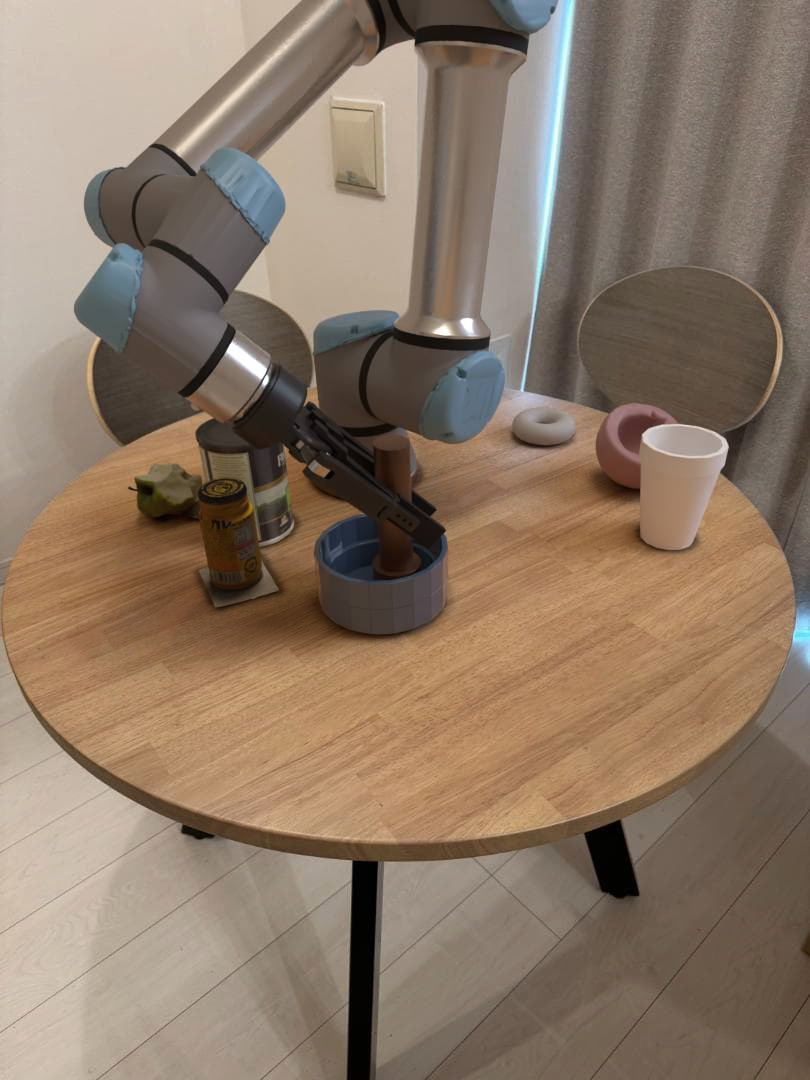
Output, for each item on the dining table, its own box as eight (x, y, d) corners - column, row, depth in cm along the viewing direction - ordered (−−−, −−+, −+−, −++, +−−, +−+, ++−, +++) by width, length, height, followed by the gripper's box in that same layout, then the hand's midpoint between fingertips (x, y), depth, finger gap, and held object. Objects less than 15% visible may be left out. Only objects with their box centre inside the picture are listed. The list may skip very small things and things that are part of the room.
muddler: (373, 564, 82) (365, 432, 73) (420, 562, 82) (417, 430, 73) (372, 592, 78) (363, 454, 69) (421, 590, 78) (419, 453, 69)
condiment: (258, 555, 90) (244, 467, 84) (279, 591, 84) (266, 499, 77) (198, 571, 88) (179, 482, 81) (215, 610, 81) (196, 516, 75)
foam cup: (710, 560, 87) (734, 461, 80) (629, 553, 88) (645, 455, 82) (700, 520, 95) (720, 426, 88) (625, 514, 96) (640, 421, 89)
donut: (515, 450, 114) (580, 448, 113) (516, 430, 112) (582, 427, 112) (508, 424, 122) (569, 422, 122) (509, 405, 120) (570, 402, 120)
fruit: (152, 543, 96) (125, 490, 92) (144, 516, 103) (119, 466, 99) (219, 515, 98) (196, 462, 94) (206, 491, 106) (184, 441, 101)
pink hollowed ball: (627, 512, 97) (639, 431, 91) (574, 474, 106) (582, 399, 100) (698, 492, 101) (715, 414, 95) (641, 458, 110) (653, 385, 104)
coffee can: (287, 503, 101) (275, 406, 94) (300, 541, 93) (288, 438, 85) (211, 515, 99) (192, 417, 91) (217, 555, 91) (197, 451, 83)
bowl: (325, 563, 88) (320, 513, 85) (443, 560, 88) (443, 509, 85) (314, 640, 76) (308, 585, 73) (451, 636, 76) (452, 581, 73)
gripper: (225, 391, 74) (394, 513, 85) (222, 463, 60) (424, 597, 71) (272, 334, 72) (438, 467, 83) (280, 395, 58) (478, 545, 69)
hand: (431, 527), depth 77 cm, fingers closed on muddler, 4 cm apart
